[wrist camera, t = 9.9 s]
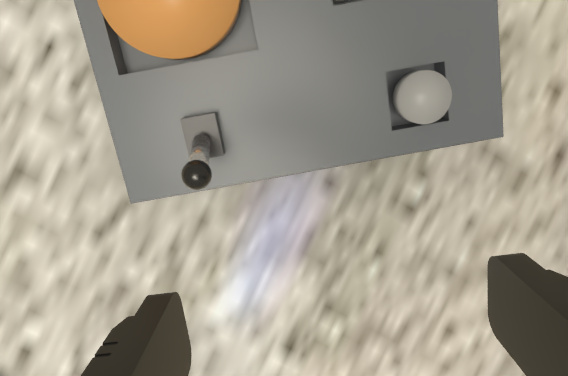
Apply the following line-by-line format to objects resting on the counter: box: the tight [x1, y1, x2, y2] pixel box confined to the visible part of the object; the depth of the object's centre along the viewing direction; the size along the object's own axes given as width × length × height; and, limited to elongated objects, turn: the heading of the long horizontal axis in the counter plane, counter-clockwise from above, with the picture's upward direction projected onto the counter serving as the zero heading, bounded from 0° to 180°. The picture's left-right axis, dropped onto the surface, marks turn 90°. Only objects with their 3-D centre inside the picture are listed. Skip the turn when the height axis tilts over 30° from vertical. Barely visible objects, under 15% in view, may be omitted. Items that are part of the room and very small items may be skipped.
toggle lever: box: [181, 134, 212, 190], centre depth 27 cm, size 2×2×6 cm
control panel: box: [74, 0, 503, 204], centre depth 30 cm, size 28×20×4 cm
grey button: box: [393, 70, 452, 124], centre depth 30 cm, size 4×4×2 cm
